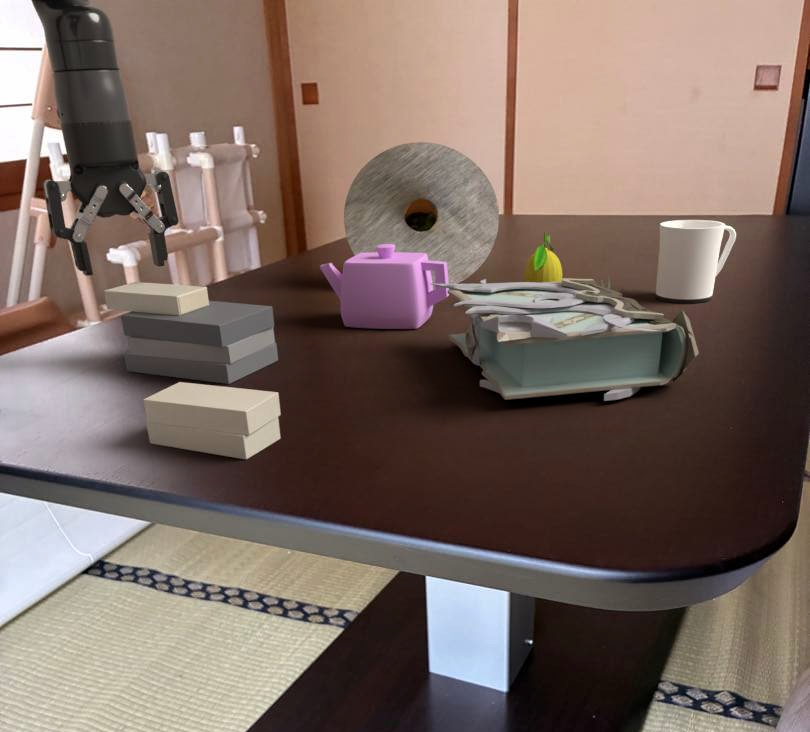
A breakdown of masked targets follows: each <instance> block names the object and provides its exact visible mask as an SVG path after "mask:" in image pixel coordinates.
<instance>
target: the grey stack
mask: <svg viewBox="0 0 810 732" xmlns="http://www.w3.org/2000/svg"><path fill="white" fill-rule="evenodd" d="M274 318H275V317H274V308H273V306H272V305H261V304H251V303H250V304H249V303H240V302H230V301H229V302H228V301H218V300H217V301H216V300H209V306H206V307H204V308H201V309H198V310H195V311H192V312H189V313H186V314H183V315H180V316H177V315H166V314H154V313H143V312H132V311H128V312H127V313H123V314H120V319H121V324H122V325H121V326H122V329H123V336H125V337H126V336H128V337H126V340H127V346H128V350H129V351H126V352H124V353H123V357H124V362H125V369H126V372H128V373H129V372H131V373H138V374H147V375H155V376H161V377H170V378H177V379H184V380H193V381H202V382H209V383H217V384H225V385H230V384H232V383H235V382H236V381H239V380H241V379H242V378H244V377H247V376H249V375H252V374H254V373H255V372H257V371H259V370H262V369H263V368H265V367H267V366H269V365H272V364H274V363H276V362H278V361H279V355H278V353H279V352H278V346H277V345H278V344H277V342H276V339H275V331H274V327H275V319H274Z"/></svg>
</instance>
